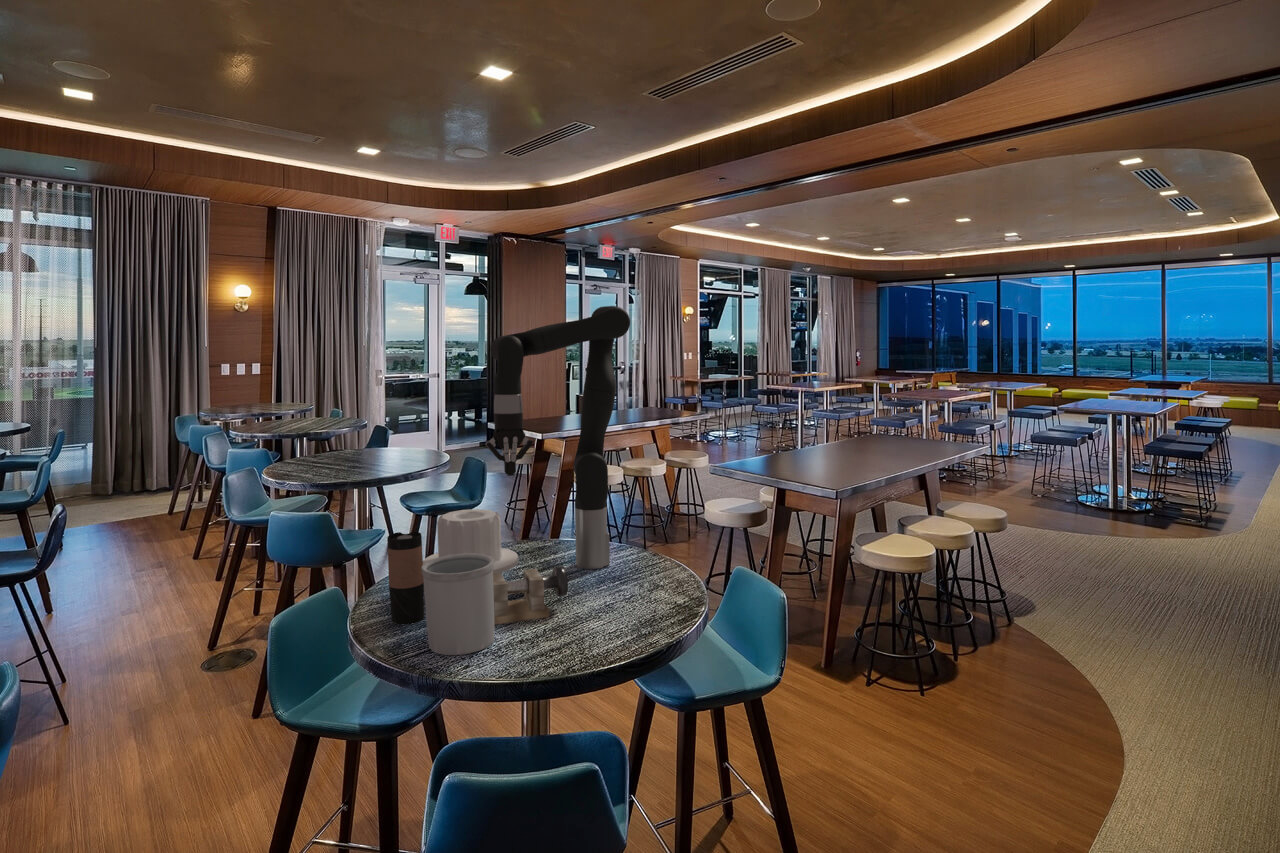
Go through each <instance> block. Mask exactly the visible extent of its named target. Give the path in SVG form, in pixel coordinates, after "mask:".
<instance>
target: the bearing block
mask: <svg viewBox="0 0 1280 853" xmlns="http://www.w3.org/2000/svg"><path fill="white" fill-rule="evenodd" d="M542 577H543V576H542V575H541V574H540V572H539V571H538V569H537V568H531V569H529V568H528V569H523V580H524V579H529V592H523V594H524V595H523V597H524V598H521V599H514V600H509V599H508V595H509V594H508V593H507V581H506V579H505V578H504V575H503V574H502V573H495V574H493V591H494V626H496V625H501V624H510V623H517V622H522V621H523V622H524V621H528V620H529V621H530V620H536V619H537V620H538V619H544V618H550V609H549V608H548V607H547V605H546V604H545V590H544V579H543V578H542Z"/></svg>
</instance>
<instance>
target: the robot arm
mask: <svg viewBox="0 0 1280 853" xmlns="http://www.w3.org/2000/svg"><path fill="white" fill-rule="evenodd" d="M630 326H631V318H630V314H628V312H627V311H626V309H624V308H622V307H620V306H616V305H606V306H599V307H597V308H596V309H595V310H594V311H593V312H592V313H591V316H589V317H586V318H581V319H578V320H577V319H576V320H572V321H565V322H558V323H552V324H548V325H543V326H539V327H534V328H532V329H529V330H526V331H523V332H517V333H511V334H506V335H501V336H498V337H497V338H495V339H494V340H493V341H492V342H491V344H490V348H489V351H490V355H491V357H493V359H494V360H495V361H497V372H496V374H495V375H494V380H493V381H494V382H493V384H494V388H493V390H494V399H493V418H494V419H493V421H494V432H493V434H492V438H491V439H490V440H487V441H486V442H485V446H486V447H487V448H488V450H489V451H490V452H491V453H492V454H493V456H495V457H496V458H497V460H499V461H502V462H503V463H504V464H503V467H504V474H505V475H506V476H507V477H512V476H514V474H516V472H517V464H516V462H517V461H518V460H522V459H523V457H524V456H526V453H527V452H528V451H529V450H530V448H531V446H532V445H533V443H534V442H533V440H532V439H530V438H528V437H526V433H525V432H524V415H523V413H524V412H523V411H524V405H523V397H522V380H521V378H522V372H523V365H524V357H528V356H529V357H530V356H537V355H542V354H547V353H549V352H553V351H557V350H560V349H563V348H567V347H570V346H573V345H577V344H582V343H585V342H588V355H587V363H586V370H585V378H584V385H583V392H582V399H581V411H580V432H579V433H580V434H579V439H578V444H577V449H576V452H575V456H574V461H573V464H572V468H573V472H574V475H575V497H574V521H575V524H574V526H575V527H574V530H575V531H574V532H575V537H574V538H575V566H576V567H577V568H579V569H585V570H596V569H602V568H604V566H605V567H607V565H609V566H610V564H611V562H610V561H611V560H610V556H611V554H610V533H609V532H608V514H607V513H608V505H607V504H608V502H607V501H608V496H609V494H608V493H609V491H608V489H609V471H608V470H609V468H608V464H607V461H606V460H605V459H604V450H605V449H604V448H605V437H606V432H607V429H608V426H609V423H610V421H611V417H612V415H613V410H614V405H615V400H616V399H615V398H616V392H617V390H616V389H617V382H616V375H615V371H614V366H613V358H612V357H613V347H614V341H615V339H619V338H620V339H621V337H623V336H625V335H626V334H627V332H628V331H629V329H630ZM521 444H522V446H521V448H520V449H519V451H518V452H517V450H518V448H519V447H520V445H521ZM496 445H498V446H499V447H500V448H501V450H502V454H501V453H500V452H499V450H497V449H496V448H495V447H496Z"/></svg>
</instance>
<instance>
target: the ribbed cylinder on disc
mask: <svg viewBox="0 0 1280 853" xmlns="http://www.w3.org/2000/svg"><path fill="white" fill-rule="evenodd" d="M501 522H502V521H501V515H500V513H498V511H492V510H491V509H478V508H475V509H474V508H473V509H470V508H469V509H461V510H454V511H449V512H446V513H445V514H440V516H439V517H438V520H437V523H436V526H437V528H436V529H437V551H438V552H436V553H434V554H431V555H429V556H427V557H425V558H424V559H423V564H424V563H426V562H428V561H430V560H432V559H435V558H439V557H443V556H447V555H453V554H463V553H475V554H484V555H487V556H490V557H491V558H492V559H493V561H494V567H493V574H495V573H501V574H502V573H504V572H507V571H510V570H511V569H513V568H514V567H516V566H517V565H518V563H519V555H518V554H517V552H515V551H513V550H511V549H508V548H504V547H502V529H501V528H502V526H501V525H502V524H501Z"/></svg>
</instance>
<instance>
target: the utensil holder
mask: <svg viewBox="0 0 1280 853" xmlns="http://www.w3.org/2000/svg"><path fill="white" fill-rule="evenodd" d="M493 567H494V561H493V559H492V558H491V557H490V556H487V555H484V554H475V553H463V554H453V555H447V556H443V557H439V558H435V559H432V560H430V561H428V562H426V563H424V564H423V565H422V568H421V569H422V575H423V578H424V610H425V620H426V623H425V624H426V632H427V642H428V643H427V644H428V647H429V650H430V649H431V650H432V651H431V650H430V651H431V652H433V653H435V652H436V653H435V654H439V655H444V656H462V655H468V654H472V653H477V652H479V651H482V650H484V649H486V648H488V647H489V646H490V645H492V644H493V642H494V641H495V625H494V591H493Z"/></svg>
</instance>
